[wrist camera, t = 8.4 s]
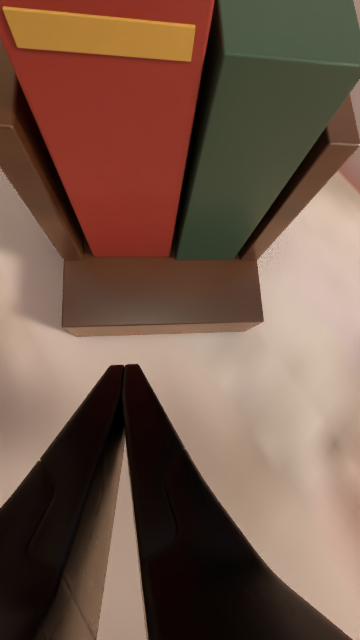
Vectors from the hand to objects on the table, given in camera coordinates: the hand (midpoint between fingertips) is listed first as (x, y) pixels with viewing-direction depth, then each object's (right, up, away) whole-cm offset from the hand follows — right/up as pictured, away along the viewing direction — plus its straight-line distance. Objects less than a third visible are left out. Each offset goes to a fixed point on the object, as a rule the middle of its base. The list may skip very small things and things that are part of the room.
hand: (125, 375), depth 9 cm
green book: (+3, +10, +8) cm, 13 cm away
